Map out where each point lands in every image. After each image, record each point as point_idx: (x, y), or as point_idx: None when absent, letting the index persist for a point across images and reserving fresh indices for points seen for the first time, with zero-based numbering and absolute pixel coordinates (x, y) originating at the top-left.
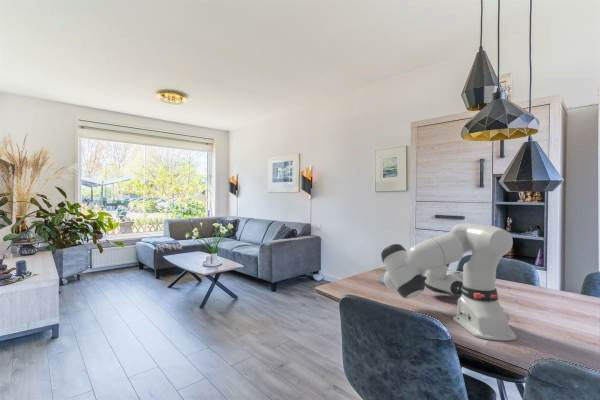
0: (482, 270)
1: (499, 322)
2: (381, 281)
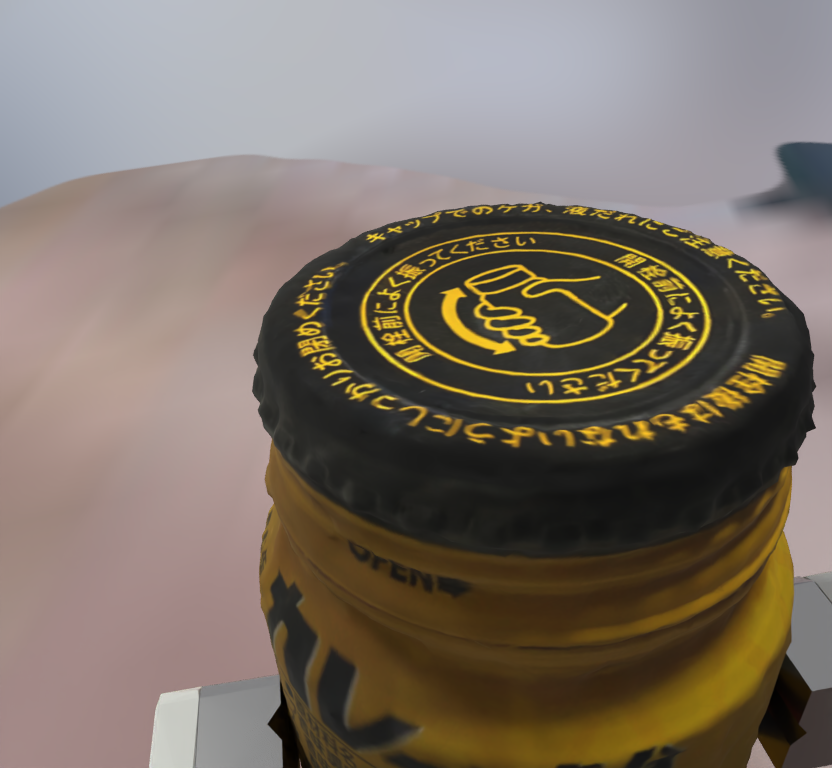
0: None
1: None
2: None
